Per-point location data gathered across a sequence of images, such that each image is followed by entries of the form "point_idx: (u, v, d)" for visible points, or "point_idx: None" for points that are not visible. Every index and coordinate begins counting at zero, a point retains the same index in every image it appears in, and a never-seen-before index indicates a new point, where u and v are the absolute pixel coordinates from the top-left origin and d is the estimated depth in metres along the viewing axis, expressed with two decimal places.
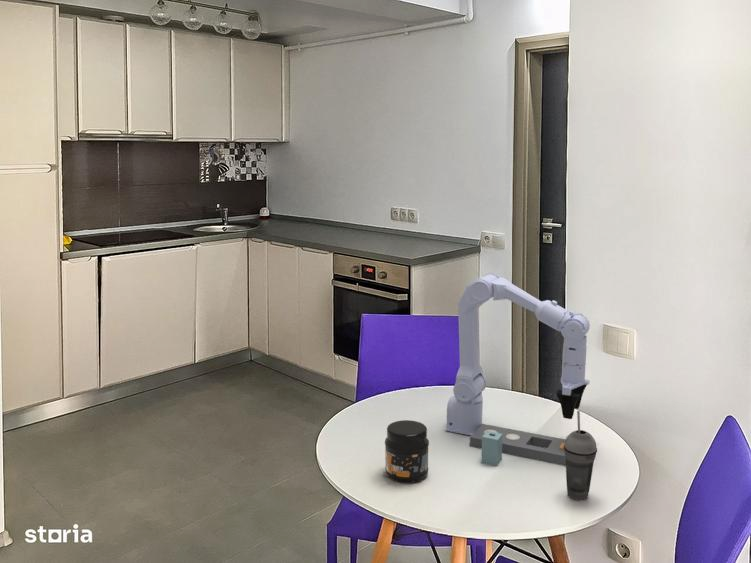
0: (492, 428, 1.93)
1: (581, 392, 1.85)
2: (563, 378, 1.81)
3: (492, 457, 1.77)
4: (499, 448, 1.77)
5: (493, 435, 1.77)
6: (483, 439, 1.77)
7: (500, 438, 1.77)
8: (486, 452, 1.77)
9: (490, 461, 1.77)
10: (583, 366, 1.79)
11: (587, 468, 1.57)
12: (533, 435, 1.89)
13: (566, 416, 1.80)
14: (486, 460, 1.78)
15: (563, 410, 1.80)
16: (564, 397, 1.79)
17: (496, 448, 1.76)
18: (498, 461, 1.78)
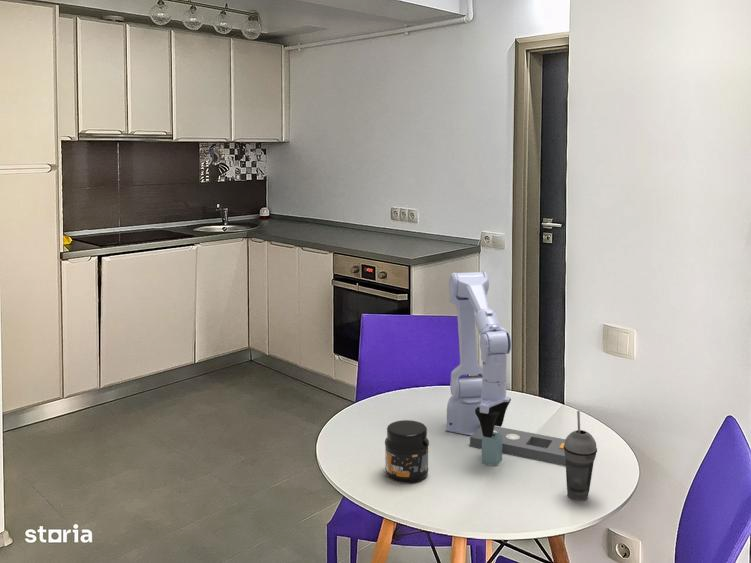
0: None
1: (503, 409, 1.79)
2: (483, 395, 1.75)
3: (492, 457, 1.77)
4: (499, 448, 1.77)
5: (493, 435, 1.77)
6: (483, 439, 1.77)
7: (500, 438, 1.77)
8: (486, 452, 1.77)
9: (490, 461, 1.77)
10: (503, 383, 1.73)
11: (587, 468, 1.57)
12: (533, 435, 1.89)
13: (486, 434, 1.74)
14: (486, 460, 1.78)
15: (482, 428, 1.74)
16: (483, 415, 1.73)
17: (496, 448, 1.76)
18: (498, 461, 1.78)
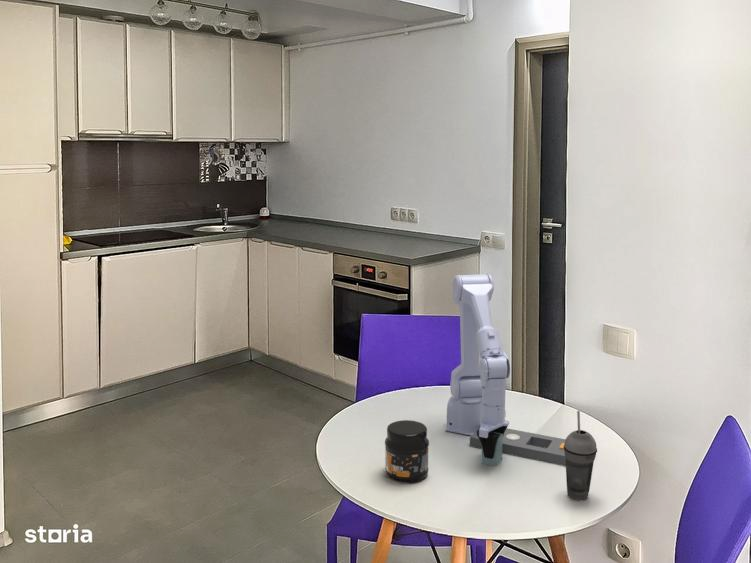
0: None
1: None
2: (482, 419, 1.76)
3: None
4: (499, 448, 1.77)
5: None
6: None
7: (500, 438, 1.77)
8: None
9: (490, 461, 1.77)
10: (502, 407, 1.74)
11: (587, 468, 1.57)
12: (533, 435, 1.89)
13: (487, 456, 1.77)
14: (486, 460, 1.78)
15: (484, 450, 1.76)
16: None
17: (496, 448, 1.76)
18: (498, 461, 1.78)
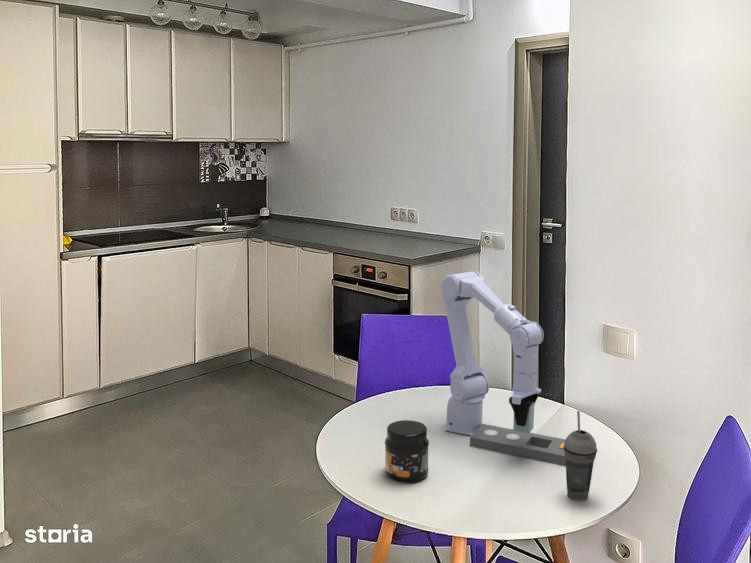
0: (492, 428, 1.93)
1: None
2: (514, 387, 1.78)
3: None
4: (531, 416, 1.79)
5: None
6: None
7: (532, 406, 1.79)
8: None
9: (522, 429, 1.79)
10: (534, 375, 1.76)
11: (587, 468, 1.57)
12: (533, 435, 1.89)
13: (519, 423, 1.79)
14: (518, 428, 1.80)
15: (516, 417, 1.79)
16: (517, 404, 1.78)
17: (528, 416, 1.78)
18: (530, 429, 1.80)
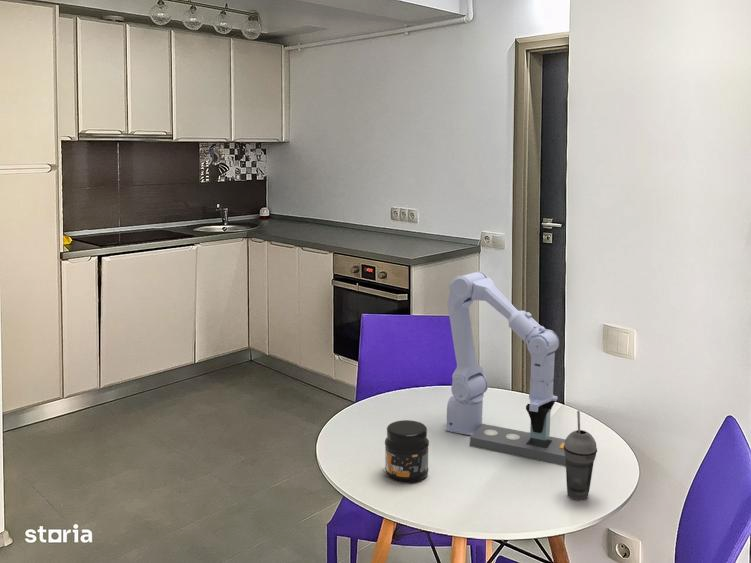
0: (492, 428, 1.93)
1: None
2: (531, 394, 1.81)
3: None
4: (547, 423, 1.82)
5: None
6: None
7: (548, 413, 1.82)
8: None
9: (539, 435, 1.82)
10: (551, 382, 1.79)
11: (587, 468, 1.57)
12: None
13: (536, 430, 1.81)
14: (535, 434, 1.82)
15: (533, 424, 1.81)
16: (533, 411, 1.80)
17: (545, 422, 1.80)
18: (547, 435, 1.82)
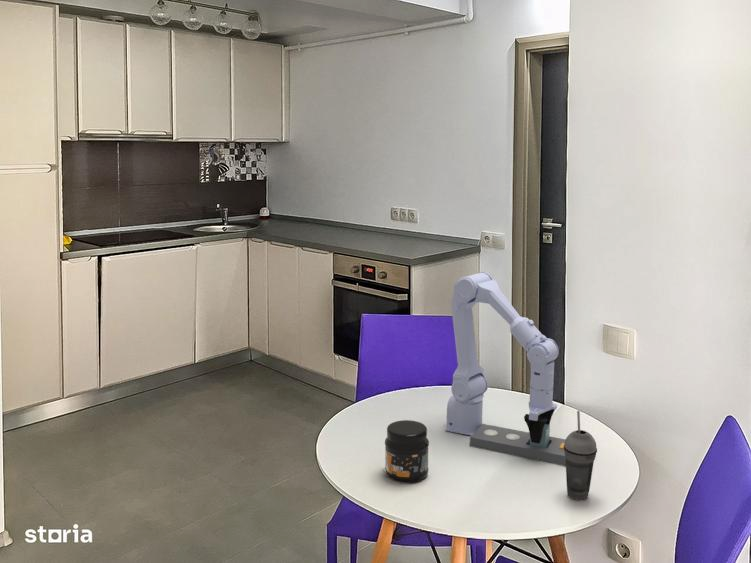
0: (492, 428, 1.93)
1: (549, 416, 1.85)
2: (531, 403, 1.81)
3: None
4: (547, 439, 1.83)
5: None
6: None
7: (548, 429, 1.83)
8: None
9: None
10: (550, 391, 1.79)
11: (587, 468, 1.57)
12: None
13: (534, 440, 1.81)
14: None
15: (531, 434, 1.80)
16: (532, 421, 1.80)
17: (544, 439, 1.81)
18: None
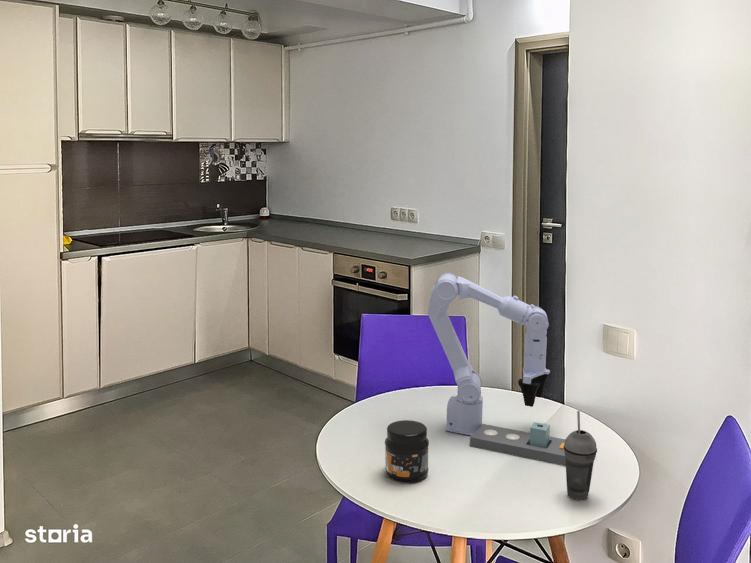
0: (492, 428, 1.93)
1: (543, 381, 1.95)
2: (525, 368, 1.91)
3: None
4: (547, 439, 1.83)
5: (541, 426, 1.83)
6: (531, 430, 1.82)
7: (548, 429, 1.83)
8: (534, 442, 1.83)
9: None
10: (543, 356, 1.89)
11: (587, 468, 1.57)
12: None
13: (527, 404, 1.90)
14: None
15: (525, 398, 1.90)
16: (525, 386, 1.89)
17: (544, 439, 1.81)
18: None
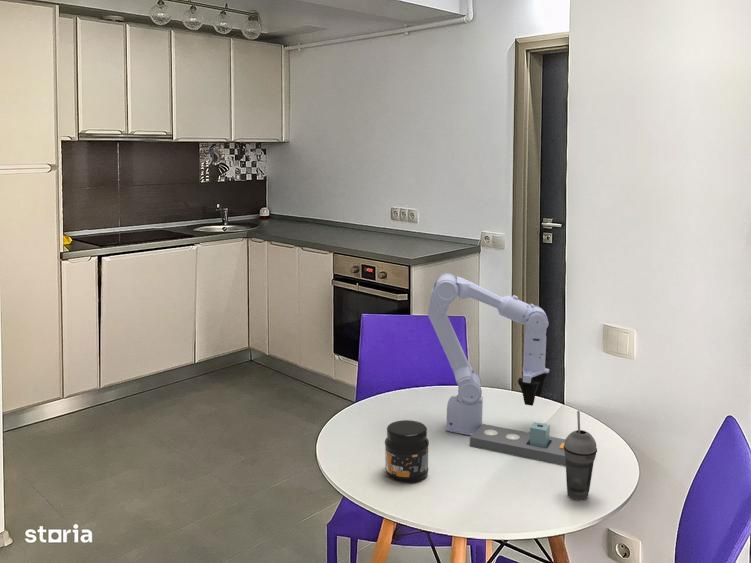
0: (492, 428, 1.93)
1: (542, 380, 1.96)
2: (524, 367, 1.92)
3: None
4: (547, 439, 1.83)
5: (541, 426, 1.83)
6: (531, 430, 1.82)
7: (548, 429, 1.83)
8: (534, 442, 1.83)
9: None
10: (543, 355, 1.90)
11: (587, 468, 1.57)
12: None
13: (527, 403, 1.91)
14: None
15: (524, 397, 1.91)
16: (525, 385, 1.90)
17: (544, 439, 1.81)
18: None
